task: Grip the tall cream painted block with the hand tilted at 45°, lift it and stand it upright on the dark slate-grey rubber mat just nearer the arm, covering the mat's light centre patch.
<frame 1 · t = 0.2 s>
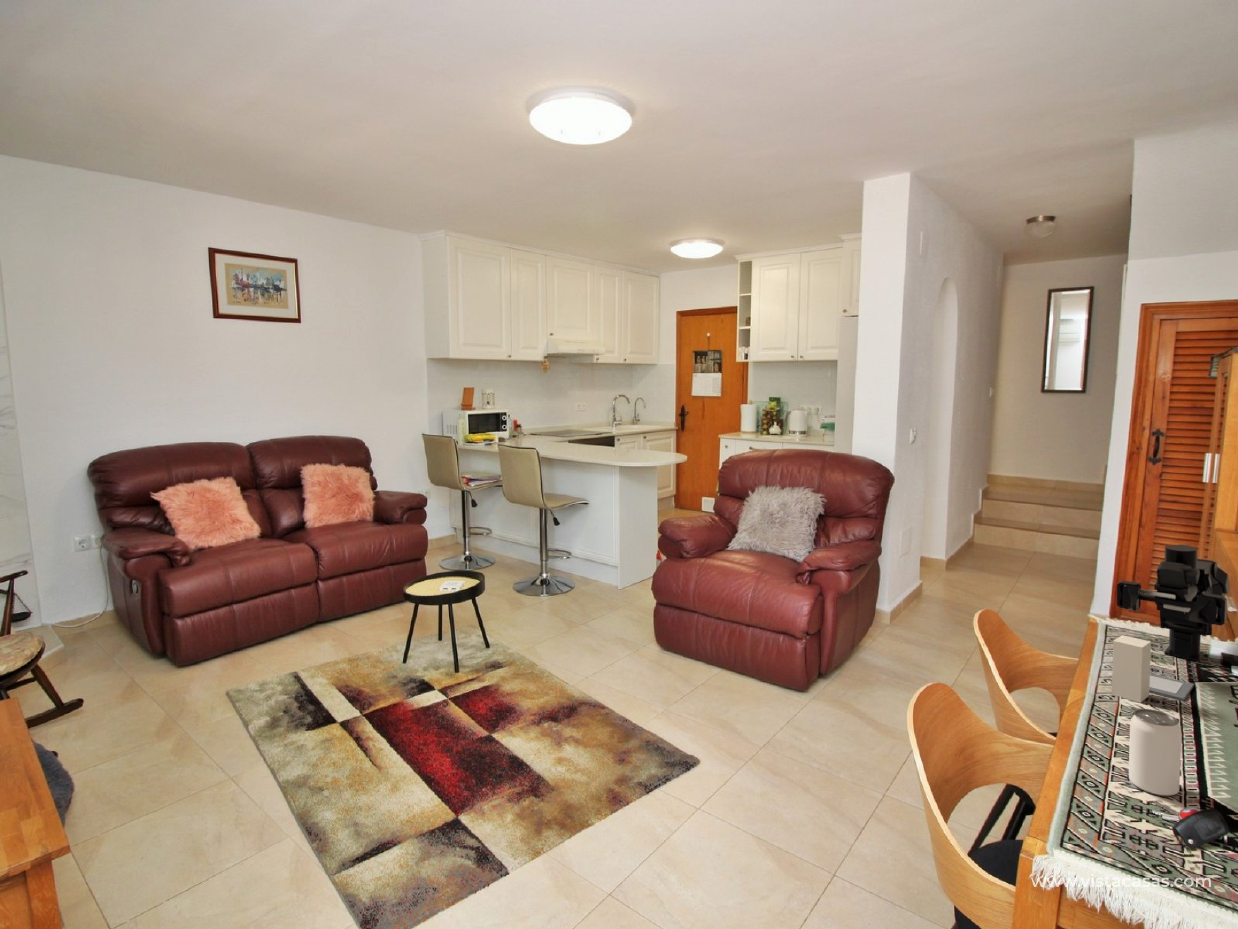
hand: (1159, 612, 138), 17 cm above the table, tool horizontal, fingers open, 9 cm apart
cream block: (1130, 695, 137), on the table
can: (1153, 786, 106), on the table
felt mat: (1158, 686, 140), on the table
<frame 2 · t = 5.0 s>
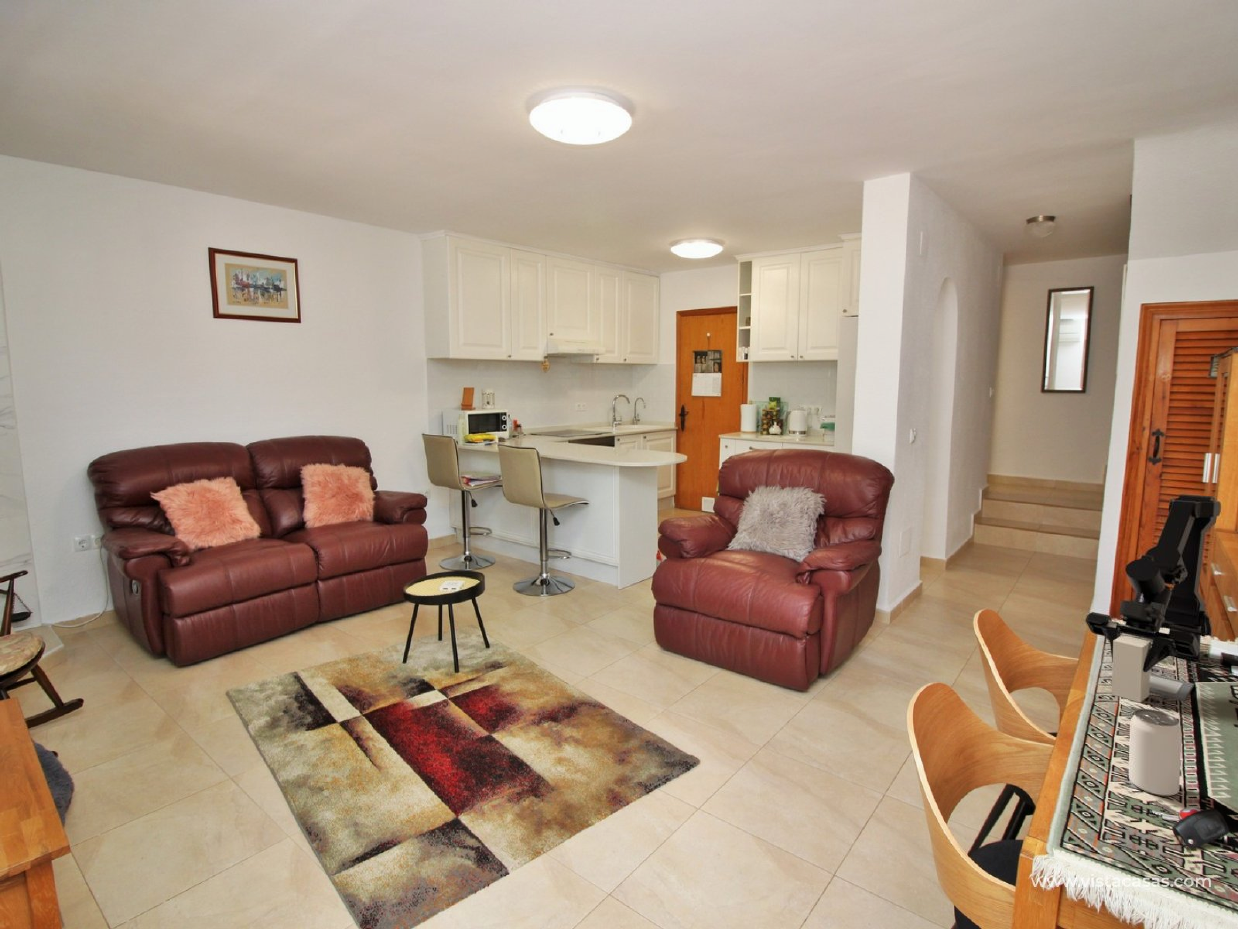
hand: (1128, 667, 135), 7 cm above the table, tool tilted 45°, fingers closed on cream block, 5 cm apart
cream block: (1130, 695, 137), on the table, touching gripper
everything else where it was.
when the fingers open (8 cm above the table, at t = 12.6 s): cream block stays where it is, resting on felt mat.
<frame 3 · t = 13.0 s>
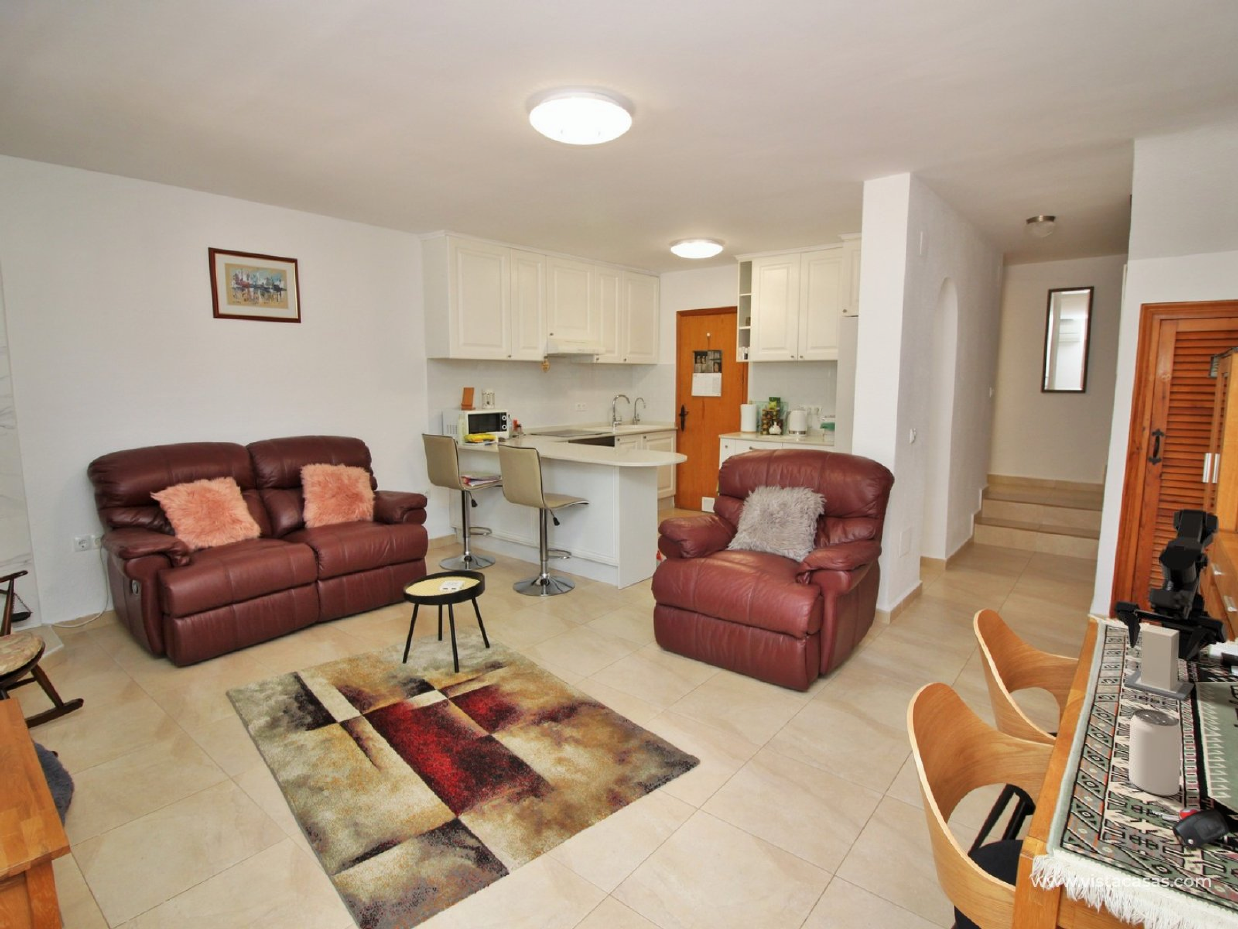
hand: (1157, 653, 138), 8 cm above the table, tool tilted 45°, fingers open, 9 cm apart
cream block: (1158, 683, 140), point 1 cm above the table, touching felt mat
everything else where it was.
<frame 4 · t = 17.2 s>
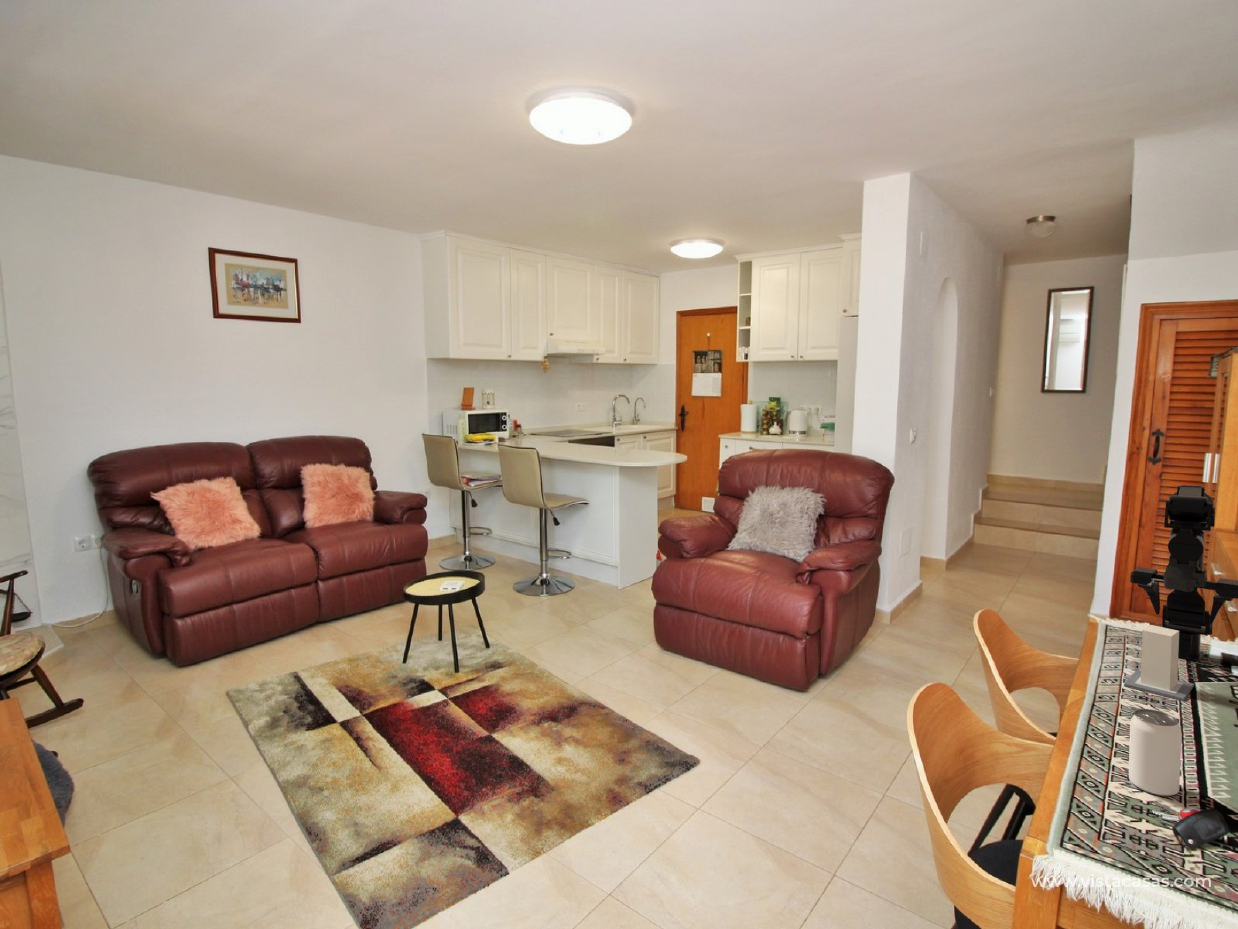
hand: (1183, 619, 144), 13 cm above the table, tool pointing down, fingers open, 9 cm apart
nothing on the table moved.
at the end: cream block inside the target area on the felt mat (0.0 cm from its centre), point 0.7 cm above the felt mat's base; cream block tilted 0°; the gripper is holding nothing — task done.
